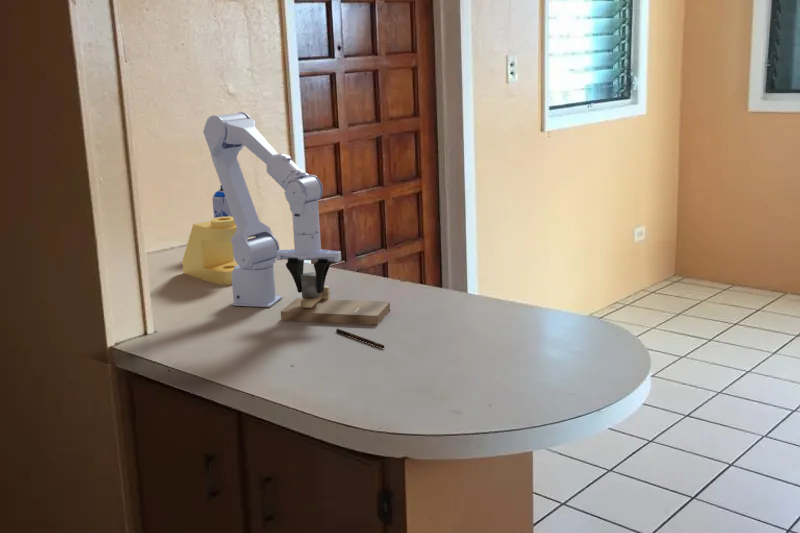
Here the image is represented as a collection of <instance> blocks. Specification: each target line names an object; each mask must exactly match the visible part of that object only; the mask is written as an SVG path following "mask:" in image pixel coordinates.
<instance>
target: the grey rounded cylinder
mask: <svg viewBox="0 0 800 533" xmlns="http://www.w3.org/2000/svg"><path fill="white" fill-rule="evenodd" d="M301 288H302V292H301V298H303V299H302V300H301V307H306V308H312V307H313V306H314V305H315V304H316V303H317V302H319V301H320V300H321V299H331V289H330V288H331V287H330V286H329V285H324V291H323V292H322V293H318V292H317V278H316V272H303V274H301Z"/></svg>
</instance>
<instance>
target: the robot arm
mask: <svg viewBox="0 0 800 533" xmlns="http://www.w3.org/2000/svg"><path fill="white" fill-rule="evenodd" d="M256 126H257V124H256V121H255V120H254V119H253V118H252V117H251V116H250V115H249V114H248V113H247V112H245V111H239V112H236V113H229V114H221V115H220V114H218V115H214V114H213V115H210V116H209V117H207V119H206V121H205V125H204V127H203V130H202V132H203V135H204V138H205V141H206V144H207V147H208V149H209V153H210V157H211V160H212V163H213V166H214V168H215V171H216V174H217V178H218V179H219V182H220V185H221V186H222V188H223V191H224V194H225V197H226V199H227V202H228V205H229V208H230V211H231V213H232V216H233V219H234V222H235V224H236V227H237V230H236V232H235V233H234V235H233V237H232V238H231V242H232V245H233V255H234V261H236V262H237V264H238V265H236V266H235V267H234V269H233V272H232V284H231V285H232V287H231V288H232V297H233V303H232V306H239V307H258V308H270V307H272V306H274V305H275V304H276V303H277V302H278V301H280V300H281V299H282V298H283V295H281V294H280V295H279V294H276V293H277V292H276V291H277V290H276V280H275V268H274V267H275V266H274V264H276V261H283V260H287V262H286V263H285V266H286V269H287V271H288V272H289V274H291V277H292V279H293V281H294V284H295V286H296V290H297V293H301V294H302V288H301V274H304V264H305V261H316V262H314V264H313V268H314V271H315V272H314V273H316V278H317V292H318V293H322V292H323V291H324V286H325V284H326V279H327V278H326V277H327V275H328V272H329V268H330V267H331V264H332V262H335V263H339V262H340V261H342V251H339V250H332V249H331V250H329V249H322V243H321V242H322V241H321V229H320V228H321V227H320V211H319V200H321V199H322V197H323V194H324V187H323V184H322V182H321V180H320V179H319V178H318V176H317V175H315V174H308V173H307V172H305V171H304V170H303V169H302V168H301V167H300V166H298V165H297V164H296V163H295V162H294V161H293V160H292V157H291V156H290V155H289V154H286V153H278V152H277V151H276V149H274V147H273V146H272V145H271V144H270V143H269V142H268V141H267V140H266V138H265V137H264V135H262V134H261V132H260V131H259V130H258V129H257V127H256ZM244 147H246V148H247V149H248V150H249V151H250V152H251V153H252V154H253V155H255V156H256V157H257V158H258V159H259V160H261V161H262V162H263V163H264V164H265V165H266V173H267V174H268V175H269V176H270V177H271V178H272V179H273V180H274V181H275V182H276V183H277V184H278V185H279V186H280V187H281V189H283V190H284V196H285V199H286V201H287V202H288V204H289V210H290V212H291V214H292V226H293V227H292V228H293V241H294V248H293V249H281V248H280V244H279V241H278V239H277V238H276V236H275V235H274V234H273V232H272V230H271V227H270V226H268V225H267V224H265V223H264V222H262V221H260V218H259V216H258V213H257V210H256V207H255V205H254V202H253V199H252V197H251V194H250V191H249V188H248V185H247V182H246V179H245V177H244V174H243V171H242V168H241V166H240V162H239V160H238V155H239V152H240V151H242V149H243V148H244ZM221 186H220V187H221Z"/></svg>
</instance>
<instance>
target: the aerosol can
mask: <svg viewBox="0 0 800 533" xmlns="http://www.w3.org/2000/svg"><path fill="white" fill-rule="evenodd" d="M212 210H213V211H212V212H213V218H218V217H228V216H230V217H233V216H232V213H231V211H230V208H229V205H228V202H227V199H226V197H225V194H224V191H223V188H222V186H221V184H220V189H218V190H217V191H215V192H214V194H213V195H212Z"/></svg>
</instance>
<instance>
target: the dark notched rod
mask: <svg viewBox="0 0 800 533" xmlns="http://www.w3.org/2000/svg"><path fill="white" fill-rule="evenodd" d="M335 331H336V332H335V333H337V332H338V333H337V334H340V333H341V334H340V335H342V334H344V335H343V336H345V335H347V336H346V337H348V336H350V337H349V338H351V337H353V338H356V339H358V340H357V341H359V340H361V341H364V342H367V343H370V344H373V345H375V346H378V347H381V348H384V349H385V345H384V344H382V343H379V342H376V341H373V340H371V339H368V338H366V337H363V336H359V335H357V334H354V333H352V332H349V331H345V330H343V329H339V328H336V330H335ZM353 338H352V339H353ZM356 339H355V340H356ZM361 341H360V342H361ZM364 342H363V343H364ZM367 343H366V344H367ZM370 344H369V345H370ZM373 345H372V346H373ZM375 346H374V347H375ZM378 347H377V348H378ZM381 348H380V349H381Z"/></svg>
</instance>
